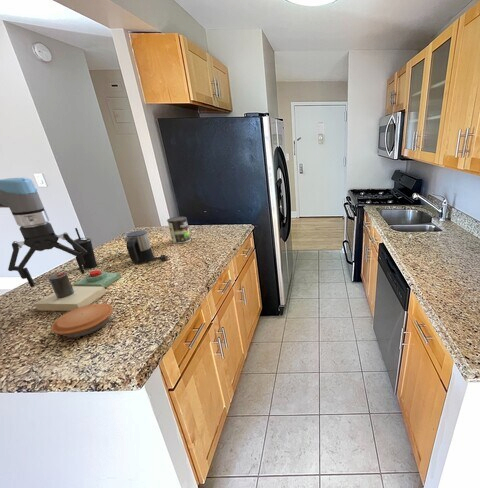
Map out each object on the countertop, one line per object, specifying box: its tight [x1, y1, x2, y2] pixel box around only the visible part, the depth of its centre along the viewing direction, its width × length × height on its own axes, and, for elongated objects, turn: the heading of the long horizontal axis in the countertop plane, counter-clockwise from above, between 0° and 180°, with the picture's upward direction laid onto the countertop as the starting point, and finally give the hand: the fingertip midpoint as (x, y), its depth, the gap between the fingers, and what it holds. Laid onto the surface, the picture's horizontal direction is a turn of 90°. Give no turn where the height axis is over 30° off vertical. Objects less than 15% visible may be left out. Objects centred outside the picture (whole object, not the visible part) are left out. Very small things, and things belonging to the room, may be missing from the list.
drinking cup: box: [71, 227, 98, 270], centre depth 124 cm, size 8×8×20 cm
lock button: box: [88, 269, 101, 277], centre depth 112 cm, size 4×4×2 cm
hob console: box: [33, 285, 107, 312], centre depth 100 cm, size 16×12×3 cm
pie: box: [50, 303, 114, 338], centre depth 86 cm, size 15×16×5 cm
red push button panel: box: [72, 270, 122, 289], centre depth 113 cm, size 12×10×4 cm
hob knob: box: [48, 271, 74, 298], centre depth 98 cm, size 5×5×8 cm
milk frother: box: [125, 229, 169, 264], centre depth 132 cm, size 14×16×15 cm
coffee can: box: [166, 216, 192, 245], centre depth 158 cm, size 10×10×14 cm
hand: (59, 278), depth 97 cm, fingers open, 13 cm apart
